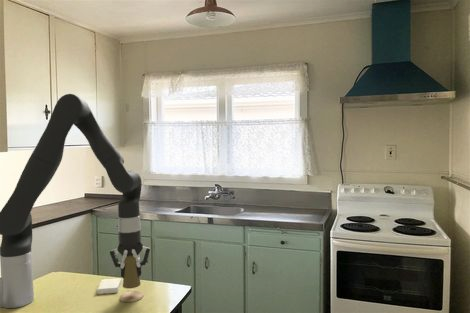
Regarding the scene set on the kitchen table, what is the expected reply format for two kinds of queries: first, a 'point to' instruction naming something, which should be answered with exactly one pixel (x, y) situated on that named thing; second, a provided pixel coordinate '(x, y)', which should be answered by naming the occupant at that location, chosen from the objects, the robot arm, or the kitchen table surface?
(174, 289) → the kitchen table surface
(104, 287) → the tile
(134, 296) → the disc
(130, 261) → the pepper shaker
